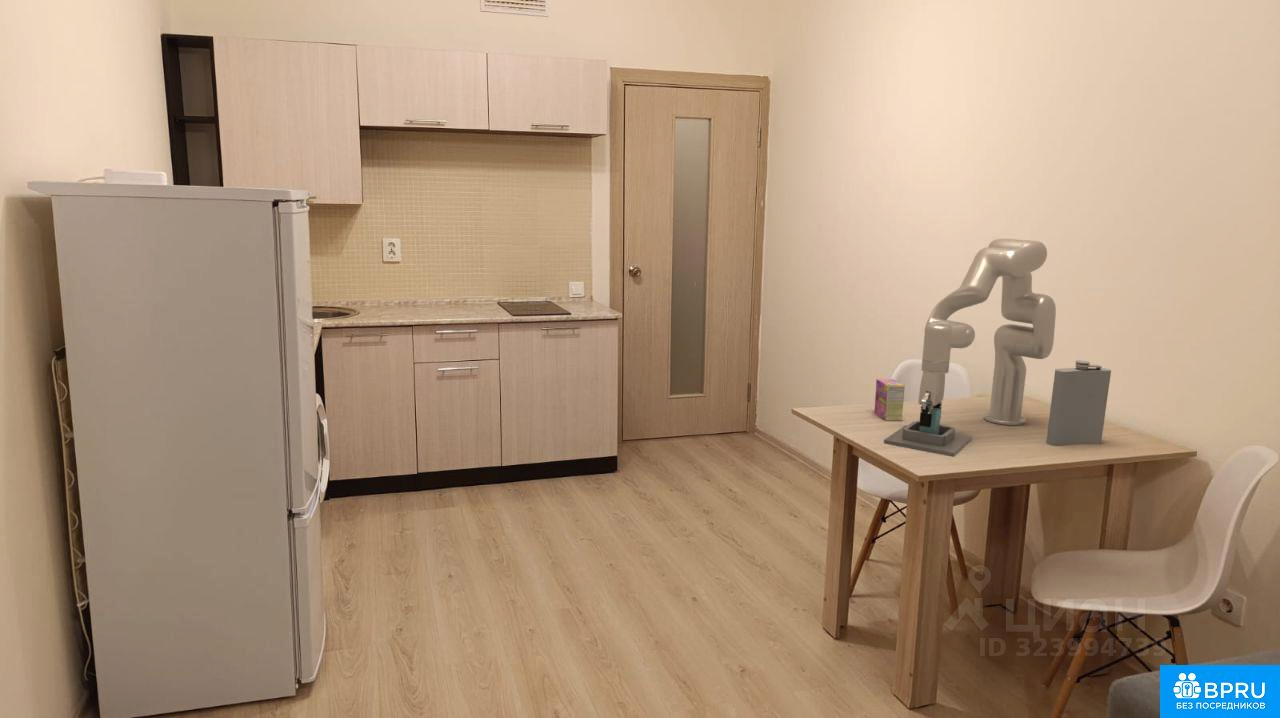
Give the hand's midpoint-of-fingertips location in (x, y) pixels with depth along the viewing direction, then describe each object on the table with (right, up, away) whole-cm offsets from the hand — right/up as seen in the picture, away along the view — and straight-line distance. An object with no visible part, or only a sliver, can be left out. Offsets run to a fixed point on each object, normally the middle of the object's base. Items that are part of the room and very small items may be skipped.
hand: (929, 422), depth 248 cm
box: (-4, 0, +28) cm, 28 cm away
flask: (+44, -6, +4) cm, 45 cm away
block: (0, -5, +1) cm, 5 cm away
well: (0, -6, +1) cm, 6 cm away
